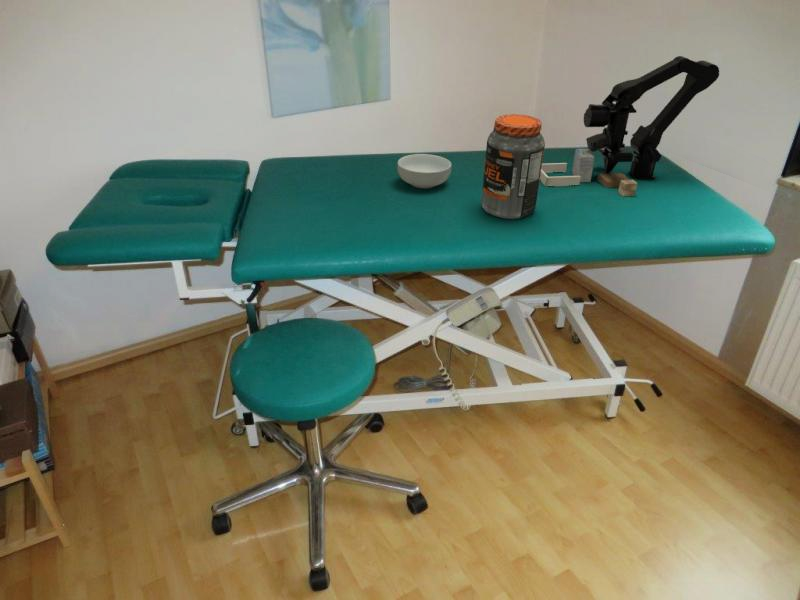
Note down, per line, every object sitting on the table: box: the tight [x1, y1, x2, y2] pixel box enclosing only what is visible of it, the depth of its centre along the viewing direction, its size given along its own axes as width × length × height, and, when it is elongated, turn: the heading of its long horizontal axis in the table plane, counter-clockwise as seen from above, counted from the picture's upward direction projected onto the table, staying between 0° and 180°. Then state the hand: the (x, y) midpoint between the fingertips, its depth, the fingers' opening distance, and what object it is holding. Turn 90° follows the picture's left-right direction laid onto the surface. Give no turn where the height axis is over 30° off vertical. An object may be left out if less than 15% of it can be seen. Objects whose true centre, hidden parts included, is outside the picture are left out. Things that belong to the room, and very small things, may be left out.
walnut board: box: [596, 172, 631, 188], centre depth 193 cm, size 8×7×2 cm
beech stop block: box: [617, 179, 638, 197], centre depth 185 cm, size 4×3×4 cm
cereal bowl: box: [397, 153, 452, 189], centre depth 189 cm, size 17×17×7 cm
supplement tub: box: [481, 113, 546, 220], centre depth 168 cm, size 16×16×26 cm
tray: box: [540, 162, 581, 188], centre depth 195 cm, size 11×13×3 cm
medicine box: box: [571, 148, 595, 183], centre depth 194 cm, size 8×4×9 cm, turn 179°
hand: (606, 173), depth 198 cm, fingers closed
